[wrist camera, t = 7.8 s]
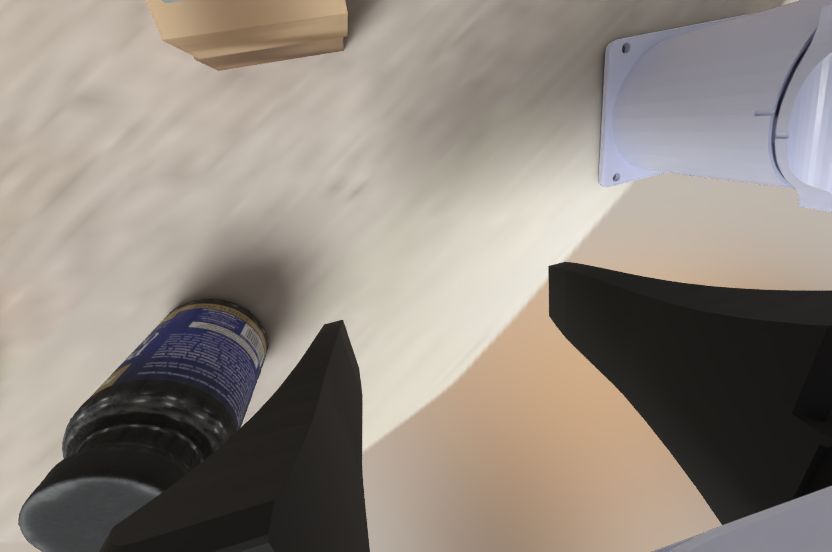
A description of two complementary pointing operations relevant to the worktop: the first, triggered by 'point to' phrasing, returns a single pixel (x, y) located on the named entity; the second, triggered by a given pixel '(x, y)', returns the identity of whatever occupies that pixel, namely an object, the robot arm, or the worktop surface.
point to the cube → (168, 0)
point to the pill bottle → (148, 424)
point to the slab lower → (273, 54)
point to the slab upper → (246, 24)
